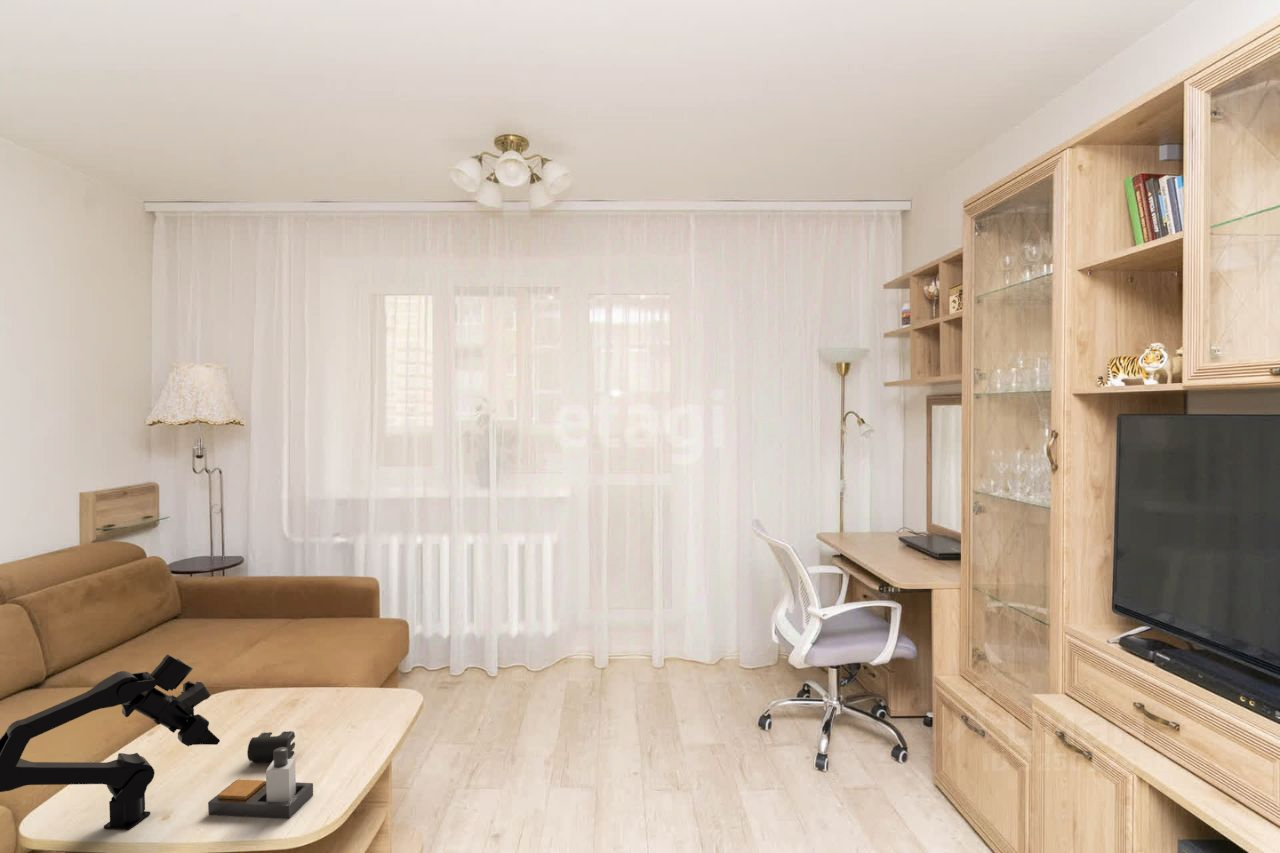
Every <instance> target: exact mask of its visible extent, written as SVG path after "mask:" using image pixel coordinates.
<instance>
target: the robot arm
mask: <svg viewBox="0 0 1280 853" xmlns="http://www.w3.org/2000/svg"><path fill="white" fill-rule="evenodd" d="M193 670H194V668H193V667H192V666H191V665H188V664H187V663H185V662H184V661H182V660H181V659H179V658H175V657H174V656H172V655H170V654H166V655H165V656H164V657H163V658H162V660H161V662H160V663H159V664H158V665H157V666H156V667H155V668H154V669H153V671H152V672H151V673H149V671H141V672H134V673H132V672H130V671H125V670H122V671H117V672H115V673H114V674H111V675H110V676H108V677H106V678H105V679H103V680H101V681H100V682H98V683H97V684H96V685H95V686H93V687H92V688H90V689H88V690H87V691H86V692H84V693H81V694H79V695H76V696H74V697H72V698H69V699H67V700H65V701H62V702H60V703H58V704H55V705H54V706H51V707H48V708H46V709H44V710H41V711H39V712H36V713H34V714H32V715H29V716H28V717H25V718H22V719H17V720H15V721H14V722H12V723H11V724H10V725H9V726H8V727H7V729H6V731H5V732H4V733H3V735H2V736H1V737H0V793H4V792H10V791H13V790H17V789H21V788H22V787H27V786H49V785H50V786H59V785H65V786H66V785H69V786H70V785H106V788H107V789H108V791H109V793H110V794H111V795H112V797H111V798H110V799H111V800H109V801H108V802H109V803H108V804H109V821H108V822H107V823H106V824H104V825H103V829H106V830H107V829H108V830H109V829H111V830H112V829H113V830H130V829H132V828H134V827H135V826H136V825H138V824H139V823H140V822H142V821H143V820H145V819H146V818H147V817H149V815H151V811H149V810H146V798H145V797H146V791H147V788H148V786H149V785H150V784H151V783H152V781H153V780H154V777H155V769H154V767H153V766H152V765H151V764H150V762H149V761H148V760H147V759H146V757H144V756H141V755H140V753H138V752H135V753H121V752H120V753H118V755H117V759H114V760H111V761H108V762H97V761H96V762H91V761H90V762H85V761H84V762H74V761H73V762H71V761H70V762H67V761H65V762H64V761H62V762H61V761H60V762H58V761H57V762H56V761H52V762H51V761H47V762H46V761H45V762H44V761H34V762H33V761H29V760H26V759H24V758H23V759H22V758H21V757H22V756H23V753H24V751H25V749H26V746H27V745H28V744H29V742H30V740H31V739H33V738H36V737H38V736H40V735H43V734H44V733H47V732H49V731H51V730H54V729H55V728H58V727H60V726H63V725H65V724H67V723H69V722H72V721H74V720H76V719H78V718H81V717H83V716H85V715H87V714H89V713H92V712H94V711H97V710H100V709H101V710H102V709H107V708H108V709H109V708H114V707H116V706H121V713H122V715H123V716H124V717H125V718H128V717H130V716H131V715H132V713H133V712H134V711H136V712H137V713H139V714H141V715H143V716H145V717H147V718H149V719H150V720H152V721H153V722H154V723H155V724H157V725H158V726H159V725H161V726H163V727H165V728H167V729H168V730H169V731H170V732H171V733H173V734H175V732H176V731H178V730H179V731H178V732H177V739H178V740H179V742H180V743H181V744H183V745H185V746H187V747H191V746H198V745H200V746H201V745H204V746H205V745H207V746H209V745H211V746H212V745H214V746H215V745H216V746H217V745H218V744H219V743H220V742H221V740H220V739H219V738H218V737H217V735H215V734H214V733H213V732H212V731H211V730H210V729H209V726H210V722H209V720H208V719H206V717H204V716H203V715H201V714H199V713H198V714H195V707H196V706H199V704H201V703H203V701H205V700H208V699H209V698H210V697H211V696H212V694H211V693H210V692H209V690H208V688H207V687H206V685H205V684H204V683H203V682H202V681H196V682H193V681H190V680H188V681H186V682H184V680H185V679H186V678H187V677H188V675H190V673H191V672H192V671H193ZM182 682H184V683H183V684H182V691H180V693H181V694H179V695H178V696H175V695H173V694H171V695H168V694H166V693H165V692H163V691H162V690H164V691H166V692H169V691H173V690H176V689H177V688H178V687H179V685H181V683H182ZM156 686H157V687H158V688H160V689H162V690H159V689H158V688H157V687H156Z"/></svg>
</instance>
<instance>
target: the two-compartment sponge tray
mask: <svg viewBox="0 0 1280 853" xmlns="http://www.w3.org/2000/svg"><path fill="white" fill-rule="evenodd" d="M313 796H314V783H313V782H297V781H296V795H295V796H294V797H293V798H292V799H290V800H289V801H288V802H287V803H281V802H267V792H266V779H265V780H264V779H242V778H241V779H240V778H239V779H236V780H234V781H233V782H232V783H231V784H229V785H228V786H227V787H225V788H224V789H223V790H222V791H221V792H220V793H218V794H216V795H215V796H214V797H212V798H211V799H210V800H209V801H207V802H208V803H207V805H208V806H207V808H208V816H221V817H222V816H223V817H225V816H227V817H245V818H246V817H247V818H248V817H249V818H264V819H265V818H268V819H269V818H270V819H286V820H287V819H289V820H290V818H292V816H294V814H296V813H297V812H298V811H299V810H300V809H301V808H302V807H303V806H304V805H305V804H306V803H307V802H308V801H310V799H311V798H312V797H313Z"/></svg>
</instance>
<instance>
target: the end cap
mask: <svg viewBox="0 0 1280 853" xmlns="http://www.w3.org/2000/svg"><path fill="white" fill-rule="evenodd" d="M272 735H273V732H272V731H270V732H261V733H260V734H259V735H258V736H257V737H255V736H254V737H252V738H251V739H250V741H249V743H248V746H247V759H248V761H249V762H252V763H269V762H270V763H272V761H273V760H274V755H273V751H274V750H275V749H277V748H280V747H286V748H287V749H288V759H292V757H293V756H294V755H295V750H294V749H295V747H296V742H295V741H293V740H294V739H296V738H295V737H296V734H295V732H294V731H293V730H292V731H291V730H289V731H285V730H284V731H282V732H281V733H280V734H279V735H277V736H276V735H274V736H272ZM292 741H293V742H292Z"/></svg>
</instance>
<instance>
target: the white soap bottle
mask: <svg viewBox="0 0 1280 853" xmlns="http://www.w3.org/2000/svg"><path fill="white" fill-rule="evenodd" d="M273 755H274V760H273V761H272V762H270V764H269V766H268V767H267V769H266V771H265V781H266V792H267V802H281V803H287V802H288V801H289V800H290V799H292V798H293V797H294V796H295V795H296V782H297V781H296V778H297V777H296V775H297V774H296V758H290V759H288V749H287V748H286V747H280V748H277V749H275V750H274V751H273Z"/></svg>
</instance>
